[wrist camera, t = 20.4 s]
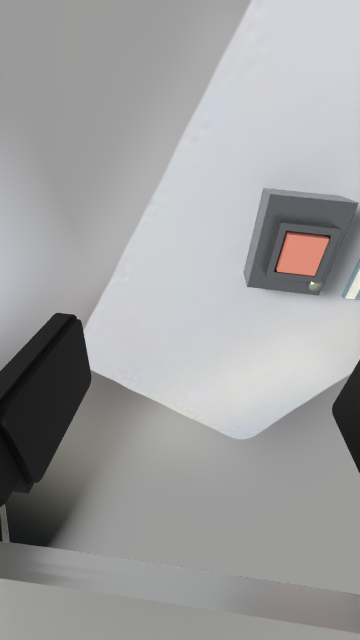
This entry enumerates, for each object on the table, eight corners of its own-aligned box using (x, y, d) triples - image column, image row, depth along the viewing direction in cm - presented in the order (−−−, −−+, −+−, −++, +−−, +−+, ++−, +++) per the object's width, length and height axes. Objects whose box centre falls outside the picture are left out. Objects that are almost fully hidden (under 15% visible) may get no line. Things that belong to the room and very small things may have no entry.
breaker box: (263, 188, 34) (273, 196, 28) (340, 196, 34) (367, 206, 28) (243, 272, 41) (248, 293, 35) (308, 280, 40) (323, 302, 35)
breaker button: (285, 230, 32) (288, 234, 30) (323, 234, 31) (329, 239, 30) (274, 265, 34) (277, 271, 33) (309, 269, 34) (314, 275, 32)
